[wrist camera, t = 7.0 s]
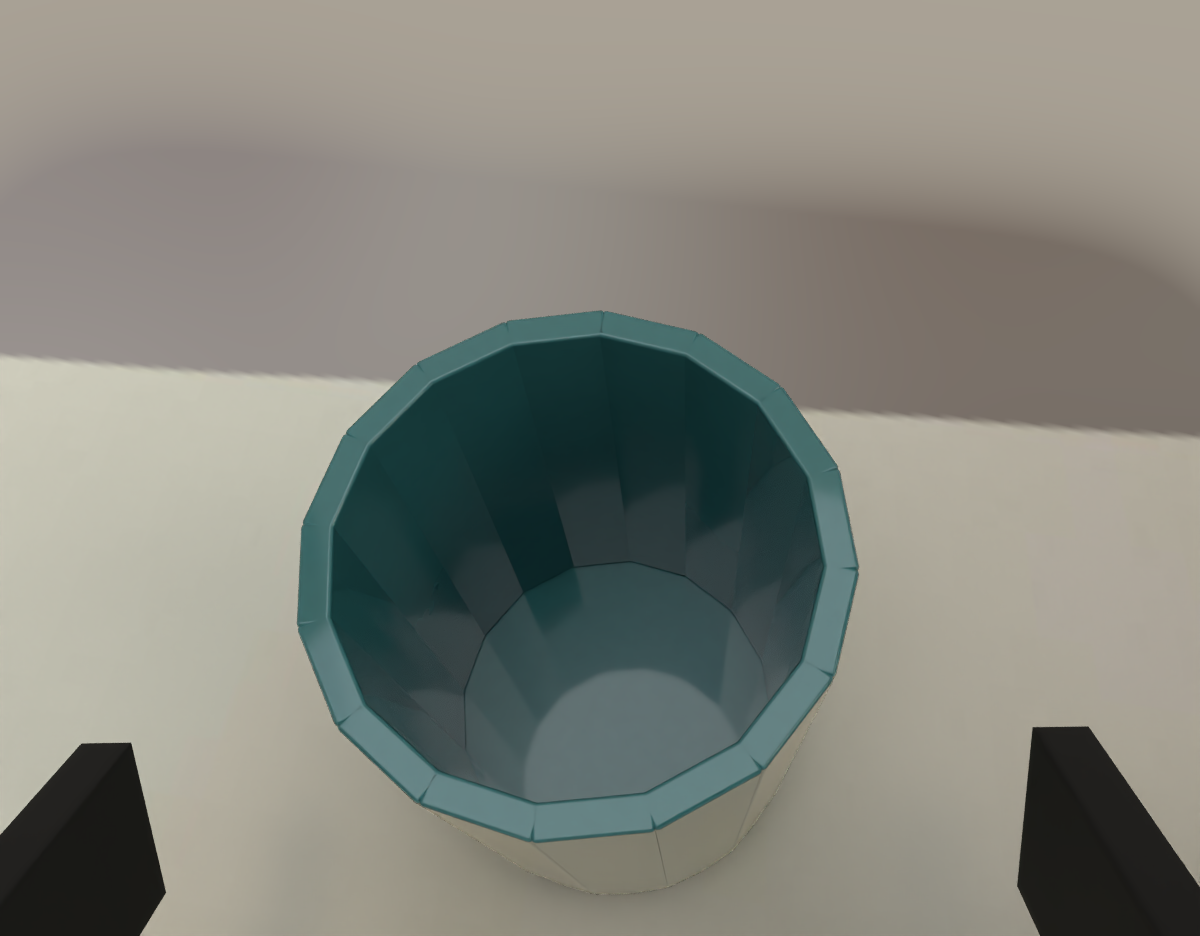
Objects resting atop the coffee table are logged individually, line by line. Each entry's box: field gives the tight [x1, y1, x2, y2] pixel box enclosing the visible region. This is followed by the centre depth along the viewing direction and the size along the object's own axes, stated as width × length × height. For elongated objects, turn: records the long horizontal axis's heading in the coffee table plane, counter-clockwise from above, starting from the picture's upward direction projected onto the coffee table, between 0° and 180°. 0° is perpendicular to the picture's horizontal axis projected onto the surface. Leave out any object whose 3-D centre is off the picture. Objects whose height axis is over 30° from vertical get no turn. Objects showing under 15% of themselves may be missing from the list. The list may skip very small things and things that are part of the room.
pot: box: [297, 311, 859, 895], centre depth 20 cm, size 8×8×11 cm
